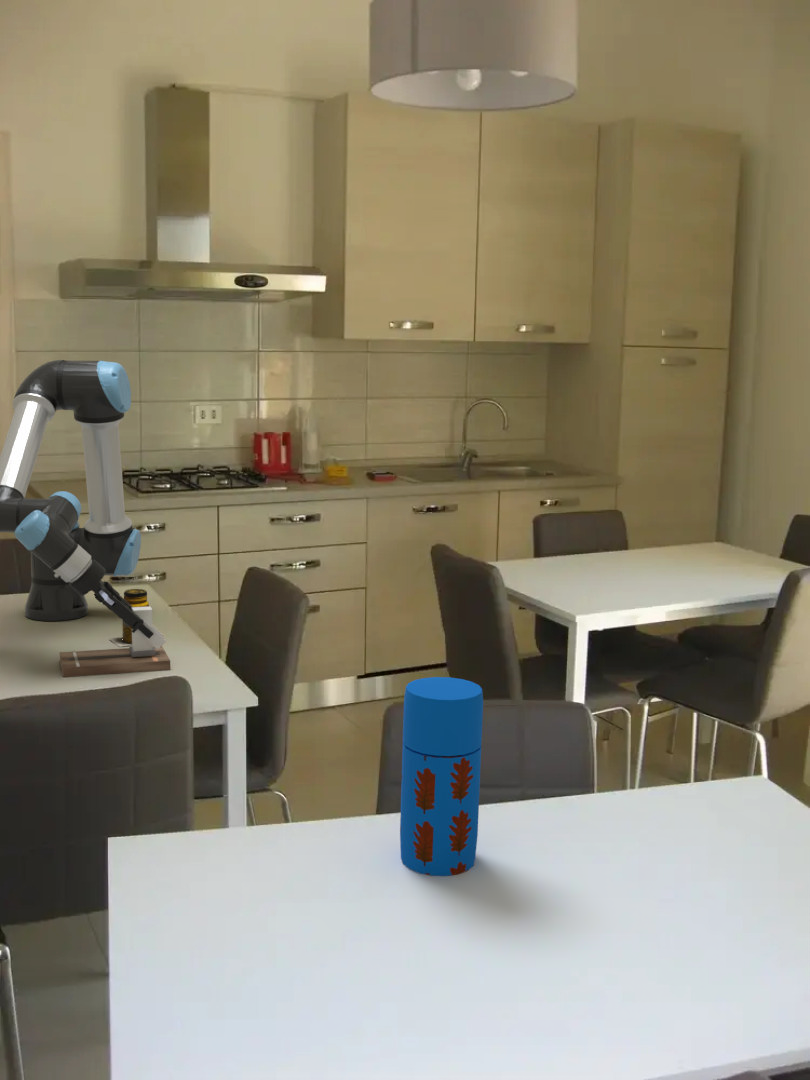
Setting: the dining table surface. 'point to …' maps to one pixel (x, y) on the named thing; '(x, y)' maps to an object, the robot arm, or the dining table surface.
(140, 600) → the condiment
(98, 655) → the fader track
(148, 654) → the fader tab
